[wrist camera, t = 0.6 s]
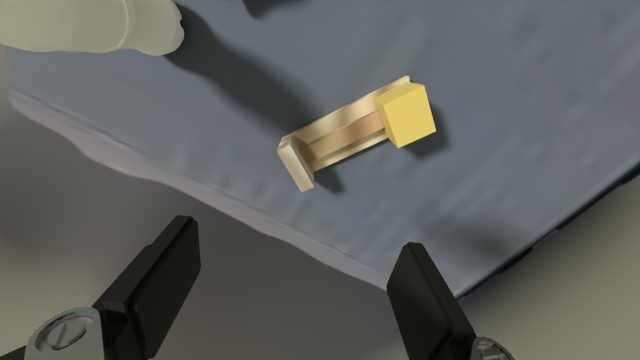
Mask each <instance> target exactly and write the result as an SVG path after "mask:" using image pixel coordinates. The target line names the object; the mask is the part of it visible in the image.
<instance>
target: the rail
mask: <svg viewBox="0 0 640 360" xmlns="http://www.w3.org/2000/svg"><path fill="white" fill-rule="evenodd" d="M405 82H410V79H409V76H404V77H402V78H400V79H398V80H396V81H394V82H392V83H390V84H388V85H386V86H384V87H382V88H380V89H378V90H376V91H374V92H372V93H370V94H368V95H366V96H364V97H362V98H360V99H358V100H356V101H354V102H352V103H350V104H348V105H346V106H344V107H342V108H340V109H338V110H336V111H334V112H332V113H330V114H328V115H326V116H324V117H322V118H320V119H318V120H316V121H314V122H312V123H310V124H308V125H306V126H304V127H302V128H300V129H298V130H296V131H294V132H292V133H290V134H288V135H286V136H285V137H283V138H282V139H281V142H280V144H279V147H278V150H277V153H278V154H279V156H280V157H281V159H282V161H283V162H284V164H285V166H286V167H287V169H288V171H289V172H290V174H291V175H292V177H293V179H294V180H295V182H296V184H297V185H298V187H299V188H300V190H301V192H304V191H306V190H308V189H310V188H313V187H314V172H315V171H317V170H319V169H322V168H324V167H326V166H328V165H330V164H332V163H335V162H337V161H339V160H341V159H343V158H345V157H348V156H350V155H352V154H354V153H356V152H358V151H361V150H363V149H365V148H367V147H369V146H371V145H374V144H376V143H378V142H380V141H382V140H384V139H387V138H388V137H387V136H386V133H385V131H384V128H385V126H384V123H383V120H382V117H381V115H380V112H379V110H378V109H377V108H376V106H375V104H374V101H373V98H375V97H377V96H379V95H381V94H383V93H385V92H387V91H389V90H391V89H393V88H395V87H397V86H399V85H401V84H403V83H405Z"/></svg>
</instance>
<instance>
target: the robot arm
mask: <svg viewBox="0 0 640 360" xmlns="http://www.w3.org/2000/svg"><path fill="white" fill-rule="evenodd" d="M200 268H201V262H200V249H199V237H198V224H197V221H194V219H193V217H189V216H180V215H178V216H176V217H175V218H174V219H173V220H172V221H171V223H170V224H169V225H168V226H167V227H166V228H165V230H164V231H163V232H162V233H161V234H160V235H159V236H158V237H157V239H156V240H155V241H154V242H153V243H152V244H151V245H148V246H146V247H145V248H144V249H143V250H142V251H141V252H140V253H139V254H138V255H137V256H136V258H135V259H134V260H133V261H132V262H131V263H130V264H129V265H128V266H127V268H126V269H125V270H124V271H123V272H122V273H121V274H120V275H119V276H118V278H117V279H116V280H115V281H114V282H113V283H112V284H111V285H110V286H109V288H108V289H107V290H106V291H105V292H104V293H103V294H102V295H101V297H100V298H99V299H98V300H97V301H96V302H95V303H94V304H93V305H92V307H86V306H84V307H75V308H72V309H69V310H66V311H63V312H61V313H59V314H57V315H55V316H53V317H52V318H50V319H48V320H47V321H45V322H44V323H43V324H42V325H41V326H39V327H38V328H37V329H36V330H35V331H34V333H33V334H32V335H31V336H30V338H29V340H28V342H27V345H25V346H23V347H21V348H18V349H16V350H14V351H12V352H10V353H8V354H6V355H4V356H1V357H0V360H148V359H149V358H150V359H151V358H153V357H154V356H155V355H156V353H157V352H158V350H159V348H160V346H161V344H162V342H163V340H164V339H165V337H166V335H167V333H168V331H169V329H170V327H171V325H172V323H173V321H174V320H175V318H176V316H177V314H178V312H179V310H180V308H181V307H182V305H183V303H184V301H185V299H186V297H187V295H188V293H189V291H190V290H191V288H192V286H193V284H194V282H195V280H196V278H197V276H198V274H199V272H200ZM387 293H388V296H389V299H390V301H391V305H392V308H393V311H394V314H395V317H396V320H397V323H398V327H399V329H400V333H401V336H402V339H403V342H404V345H405V348H406V351H407V354H408V357H409V360H515V359H514V357H513V356H512V355H511V353H509V352H508V351H507V350H506V349H505V347H503V346H502V345H501V344H499V343H498V342H496V341H494V340H492V339H491V338H487V337H484V336H483V337H477V336H476V334H475V333H474V329H473V327H472V326H471V324H470V322H469V321H468V319H467V317H466V316H465V314H464V312H463V311H462V309H461V307H460V306H459V304H458V302H457V301H456V299H455V297H454V296H453V294H452V292H451V291H450V289H449V287H448V286H447V284H446V282H445V281H444V279H443V277H442V276H441V274H440V272H439V271H438V269H437V267H436V266H435V264H434V262H433V261H432V259H431V257H430V256H429V254H428V252H427V251H426V249H425V247H424V246H423V245H422V244H421V243H413V242H408V243H407V245H404V246H403V248H402V250H401V253H400V255H399V257H398V260H397V262H396V264H395V267H394V269H393V271H392V274H391V276H390V278H389V281H388V283H387Z"/></svg>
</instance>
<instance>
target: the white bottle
mask: <svg viewBox="0 0 640 360" xmlns="http://www.w3.org/2000/svg"><path fill="white" fill-rule="evenodd" d="M181 19H182V17H181V13H180V11H179V9H178V8H177V6H176V5H175V3H174V2H173V1H172V0H0V43H1V44H4V45H7V46H11V47H15V48H19V49H23V50H28V51H36V52H51V51H55V50H62V51H84V52H93V53H105V52H109V51H113V50H117V49H137V50H139V51H141V52H143V53H145V54H148V55H155V56H159V55H164V54H167V53H170V52H173V51H175V50H176V49H177V48H178V47H179V46H180V45H181V43H182V41H183V39H184V30H183V28H182V27H181V25H180V20H181Z"/></svg>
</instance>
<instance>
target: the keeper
mask: <svg viewBox="0 0 640 360" xmlns="http://www.w3.org/2000/svg"><path fill="white" fill-rule="evenodd" d="M373 101H374V104H375V106H376V108H377V109H378V110H379V112H380V115H381V117H382V120H383V123H384V126H385V128H384V131H385V133H386V136H387V137H388V138H389V139H390V140H391V141H392V142H393V143H394V144H395V145H396V146H397V147H398V148H400V147H402V146H404V145H407V144H409V143H411V142H413V141H415V140H418V139H420V138H422V137H424V136H427V135H429V134H431V133H433V132H436V128H435V125H434V121H433V117H432V113H431V110H430V106H429V102H428V98H427V95H426V91H425V87H424V85H420V84H415V83H411V82H405V83H403V84H401V85H399V86H397V87H395V88H393V89H391V90H389V91H387V92H385V93H383V94H381V95H379V96H377V97H375V98H373Z"/></svg>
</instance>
